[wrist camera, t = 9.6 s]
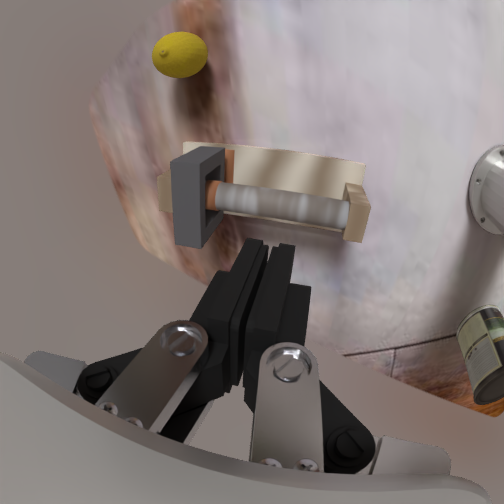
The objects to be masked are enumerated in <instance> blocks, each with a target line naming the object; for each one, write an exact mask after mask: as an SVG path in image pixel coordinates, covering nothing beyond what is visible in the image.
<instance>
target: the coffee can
mask: <svg viewBox="0 0 504 504" xmlns="http://www.w3.org/2000/svg"><path fill="white" fill-rule="evenodd" d="M456 337H457V341H458V343H459V345H460V348H461V352H462V355H463V358H464V361H465V365H466V368H467V372H468V375H469V379H470V382H471V386H472V390H473V394H474V397H473V398H474V402H475V403H476V404H478V405H485V404H489V403H492V402H495V401H497V400H499V399H501V398H503V397H504V318H503V316H502V314H501V311H500V309H499V308H498V307H496V306H494V305H485V306H482V307H480V308H478V309H476V310H474V311H473V312H471V313H470V314H469V315H468V316H467V317H466V318H465V319H464V320H463V321H462V322H461V324H460V326H459V327H458V330H457V334H456Z"/></svg>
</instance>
